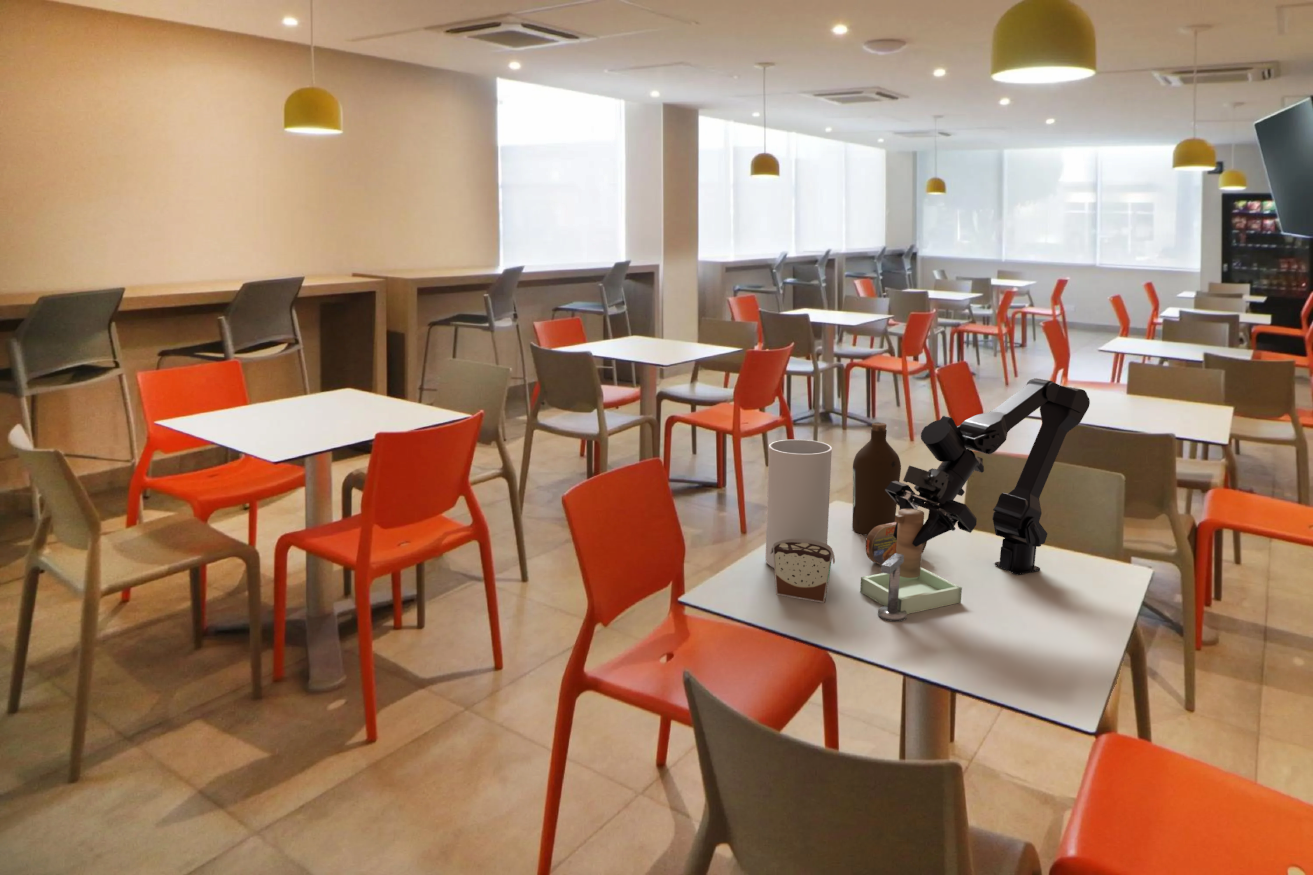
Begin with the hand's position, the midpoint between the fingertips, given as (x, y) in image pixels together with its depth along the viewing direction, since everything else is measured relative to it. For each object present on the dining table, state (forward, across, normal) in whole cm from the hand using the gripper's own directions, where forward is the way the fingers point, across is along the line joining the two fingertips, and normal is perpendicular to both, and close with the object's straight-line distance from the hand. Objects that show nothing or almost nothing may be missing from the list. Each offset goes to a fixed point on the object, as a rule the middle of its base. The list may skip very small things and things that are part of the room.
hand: (904, 541), depth 176 cm
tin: (-1, -16, +18) cm, 24 cm away
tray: (+7, 0, +10) cm, 12 cm away
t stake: (+14, +5, +3) cm, 15 cm away
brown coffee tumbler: (+4, 0, +6) cm, 7 cm away
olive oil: (-8, -33, +25) cm, 42 cm away
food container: (+18, -11, -2) cm, 21 cm away
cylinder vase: (+12, -25, +4) cm, 28 cm away
